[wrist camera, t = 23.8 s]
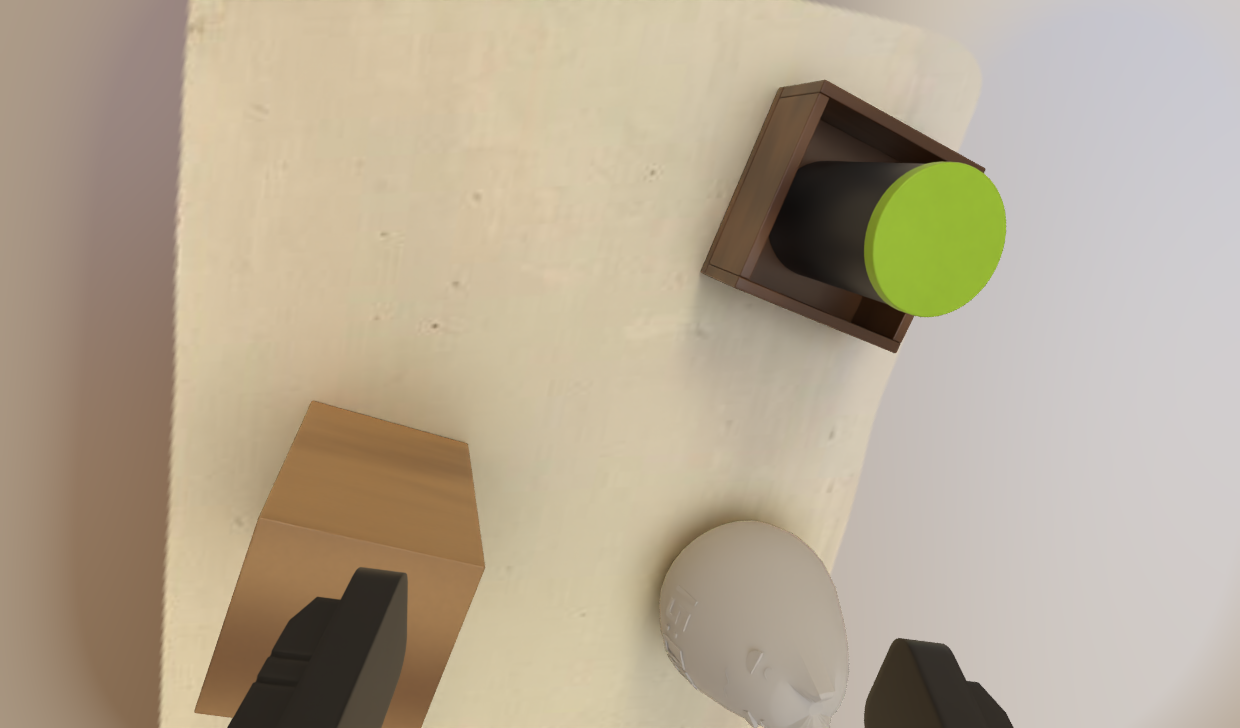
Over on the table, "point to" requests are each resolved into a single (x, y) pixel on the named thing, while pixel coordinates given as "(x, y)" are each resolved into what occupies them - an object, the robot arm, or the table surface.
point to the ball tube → (893, 231)
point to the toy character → (757, 625)
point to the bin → (790, 138)
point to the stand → (356, 549)
